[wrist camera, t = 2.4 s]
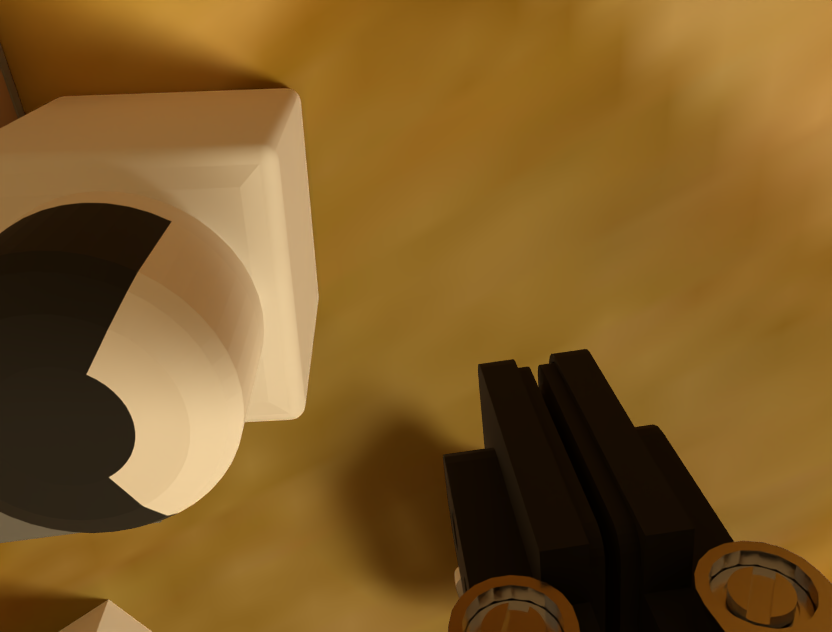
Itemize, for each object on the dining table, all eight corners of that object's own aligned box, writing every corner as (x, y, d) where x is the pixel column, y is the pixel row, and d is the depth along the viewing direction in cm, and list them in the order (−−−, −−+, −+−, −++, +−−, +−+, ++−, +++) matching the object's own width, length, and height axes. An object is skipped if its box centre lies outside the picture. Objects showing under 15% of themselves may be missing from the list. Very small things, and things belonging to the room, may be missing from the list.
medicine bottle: (105, 312, 25) (-84, 591, 14) (54, 94, 22) (-239, 245, 11) (320, 302, 26) (288, 568, 15) (300, 85, 22) (241, 224, 12)
